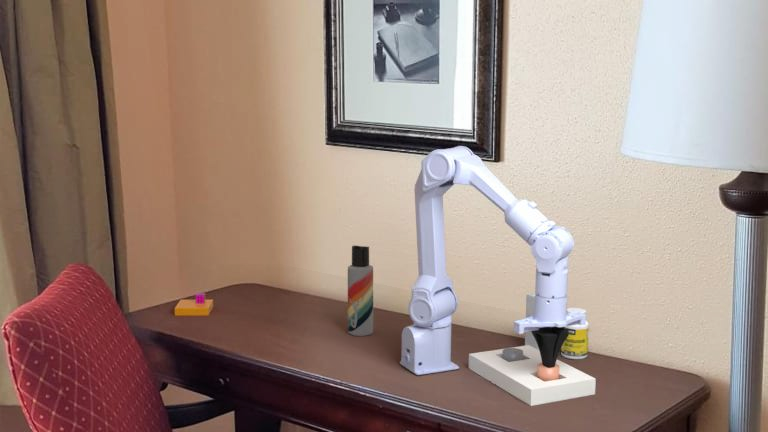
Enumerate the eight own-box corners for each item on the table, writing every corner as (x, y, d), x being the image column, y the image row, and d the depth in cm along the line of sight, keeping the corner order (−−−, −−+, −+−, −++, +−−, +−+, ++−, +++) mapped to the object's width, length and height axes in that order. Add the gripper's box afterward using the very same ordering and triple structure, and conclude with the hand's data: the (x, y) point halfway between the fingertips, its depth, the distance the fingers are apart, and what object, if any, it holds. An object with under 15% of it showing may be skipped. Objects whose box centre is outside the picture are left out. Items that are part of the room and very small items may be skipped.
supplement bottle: (560, 358, 190) (562, 312, 189) (561, 350, 196) (563, 305, 194) (587, 360, 189) (589, 314, 188) (587, 352, 195) (589, 307, 193)
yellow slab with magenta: (208, 317, 221) (208, 299, 221) (174, 317, 221) (174, 299, 220) (213, 308, 229) (212, 291, 229) (180, 308, 229) (180, 291, 228)
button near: (544, 391, 169) (545, 370, 169) (532, 384, 173) (533, 364, 172) (562, 388, 171) (563, 367, 170) (550, 381, 175) (551, 361, 174)
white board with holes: (530, 405, 165) (531, 389, 164) (468, 368, 184) (468, 353, 184) (595, 394, 170) (595, 378, 170) (528, 359, 190) (528, 345, 190)
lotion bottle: (343, 334, 206) (343, 246, 203) (353, 327, 212) (353, 241, 208) (367, 337, 204) (367, 248, 201) (376, 330, 209) (377, 243, 206)
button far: (509, 375, 180) (509, 355, 179) (498, 369, 184) (498, 349, 183) (526, 372, 182) (527, 352, 181) (515, 366, 185) (515, 347, 185)
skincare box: (537, 355, 193) (539, 298, 191) (523, 349, 196) (525, 294, 194) (559, 350, 196) (561, 294, 194) (544, 345, 200) (546, 290, 198)
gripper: (529, 304, 162) (527, 378, 165) (597, 295, 168) (594, 367, 171) (508, 294, 169) (506, 366, 171) (573, 286, 175) (570, 356, 177)
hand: (548, 366), depth 171 cm, fingers closed, pressing on button near
